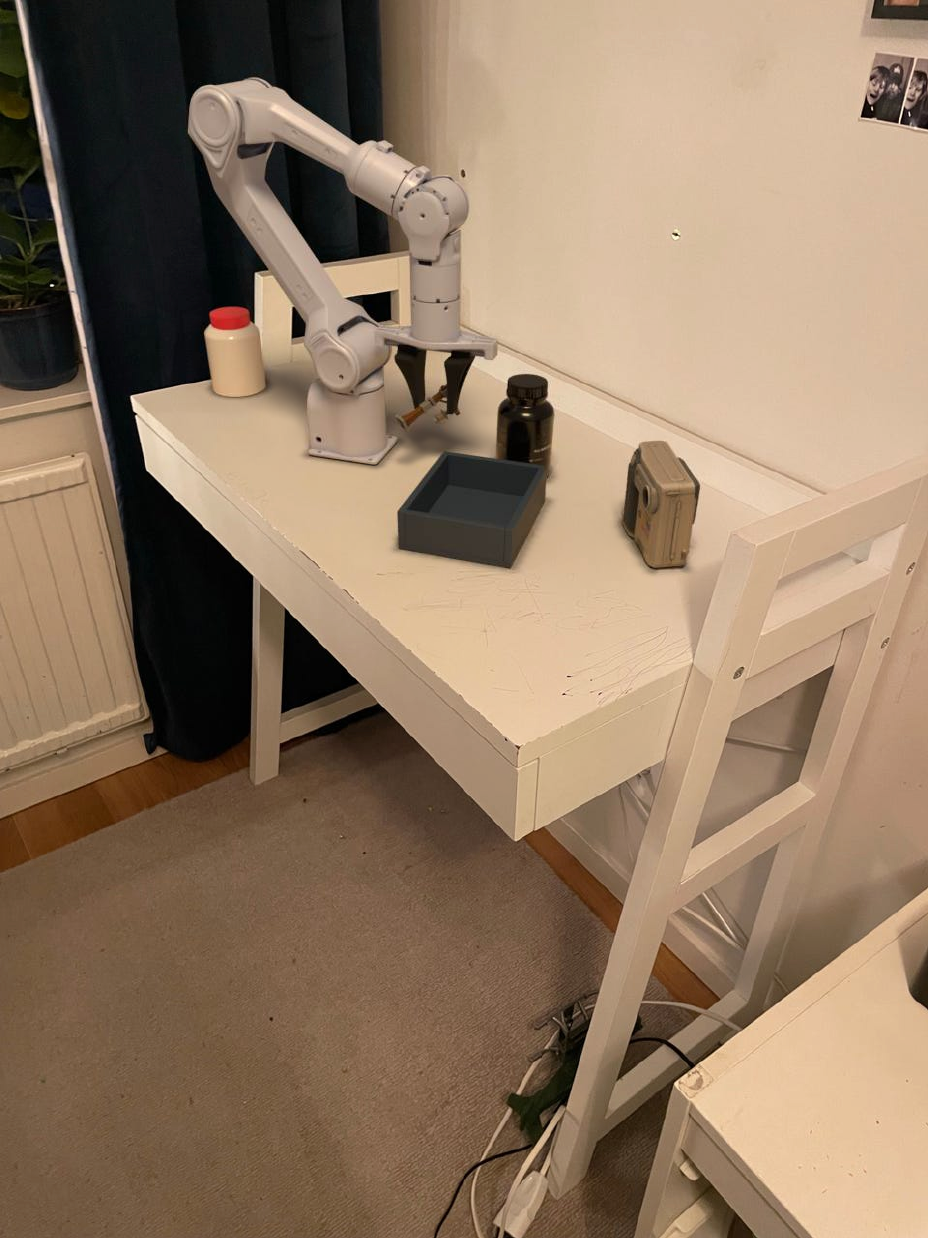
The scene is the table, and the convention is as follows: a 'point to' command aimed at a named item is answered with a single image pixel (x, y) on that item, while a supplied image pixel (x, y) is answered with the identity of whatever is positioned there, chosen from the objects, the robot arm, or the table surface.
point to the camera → (660, 504)
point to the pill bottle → (234, 353)
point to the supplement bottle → (525, 421)
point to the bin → (473, 509)
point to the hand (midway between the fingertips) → (436, 409)
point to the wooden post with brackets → (426, 410)
